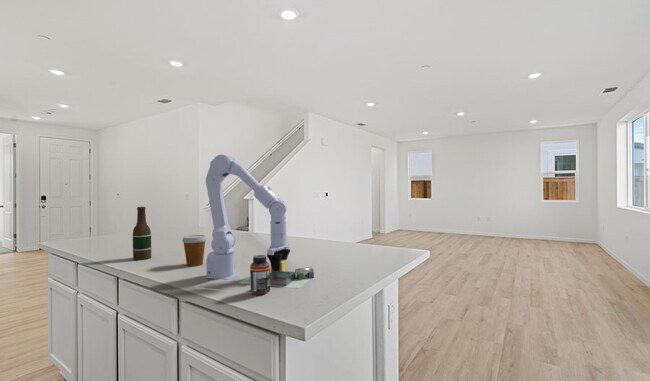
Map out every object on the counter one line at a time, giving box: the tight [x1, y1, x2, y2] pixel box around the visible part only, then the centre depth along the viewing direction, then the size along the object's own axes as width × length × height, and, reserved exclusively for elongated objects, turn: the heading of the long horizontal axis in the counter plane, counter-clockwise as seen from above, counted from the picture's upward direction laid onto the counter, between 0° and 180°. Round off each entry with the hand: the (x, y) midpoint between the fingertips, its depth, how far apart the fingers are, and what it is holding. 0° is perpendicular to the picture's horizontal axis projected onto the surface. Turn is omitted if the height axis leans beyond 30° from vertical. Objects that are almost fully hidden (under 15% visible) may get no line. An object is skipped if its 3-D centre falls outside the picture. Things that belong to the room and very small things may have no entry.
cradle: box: [270, 270, 296, 286], centre depth 111 cm, size 8×8×3 cm
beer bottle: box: [132, 206, 152, 261], centre depth 151 cm, size 8×8×24 cm
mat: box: [238, 271, 316, 289], centre depth 114 cm, size 22×16×1 cm
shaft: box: [294, 266, 315, 280], centre depth 115 cm, size 6×4×4 cm, turn 119°
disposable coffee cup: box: [182, 234, 207, 267], centre depth 138 cm, size 10×10×12 cm
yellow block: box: [270, 259, 288, 272], centre depth 119 cm, size 4×4×5 cm
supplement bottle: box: [249, 254, 271, 296], centre depth 101 cm, size 6×6×11 cm
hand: (279, 270), depth 119 cm, fingers closed on yellow block, 4 cm apart
